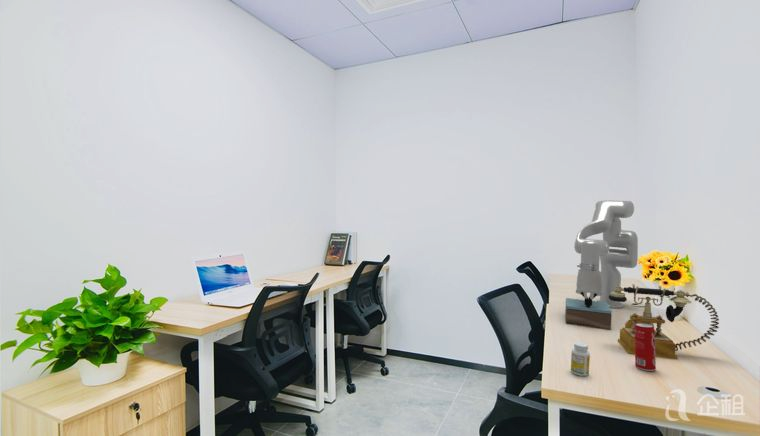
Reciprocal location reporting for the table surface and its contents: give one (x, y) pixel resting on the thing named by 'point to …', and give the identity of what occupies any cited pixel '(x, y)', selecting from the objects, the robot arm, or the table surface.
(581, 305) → the lid
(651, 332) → the beverage can
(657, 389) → the table surface
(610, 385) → the table surface
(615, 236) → the robot arm
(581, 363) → the supplement bottle
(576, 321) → the storage box
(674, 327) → the table surface
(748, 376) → the table surface
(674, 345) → the rotary telephone
